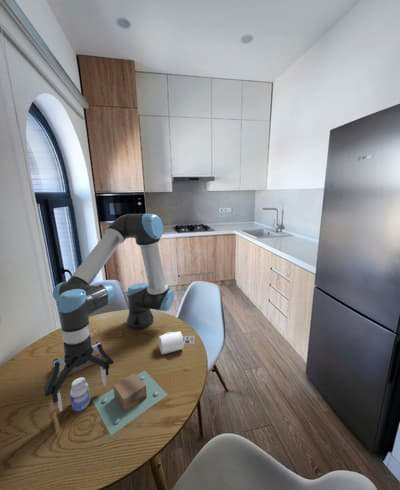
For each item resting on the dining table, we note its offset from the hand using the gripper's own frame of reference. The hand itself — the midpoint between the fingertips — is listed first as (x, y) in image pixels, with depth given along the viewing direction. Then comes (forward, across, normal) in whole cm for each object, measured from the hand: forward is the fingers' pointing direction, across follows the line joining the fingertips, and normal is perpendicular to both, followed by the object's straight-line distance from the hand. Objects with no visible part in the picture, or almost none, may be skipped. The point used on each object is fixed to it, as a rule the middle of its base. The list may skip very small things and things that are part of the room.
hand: (83, 395), depth 73 cm
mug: (+4, -39, -5) cm, 40 cm away
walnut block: (+3, -12, +9) cm, 15 cm away
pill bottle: (+4, +1, -1) cm, 5 cm away
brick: (+5, -4, -23) cm, 24 cm away
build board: (+4, -12, +9) cm, 16 cm away
